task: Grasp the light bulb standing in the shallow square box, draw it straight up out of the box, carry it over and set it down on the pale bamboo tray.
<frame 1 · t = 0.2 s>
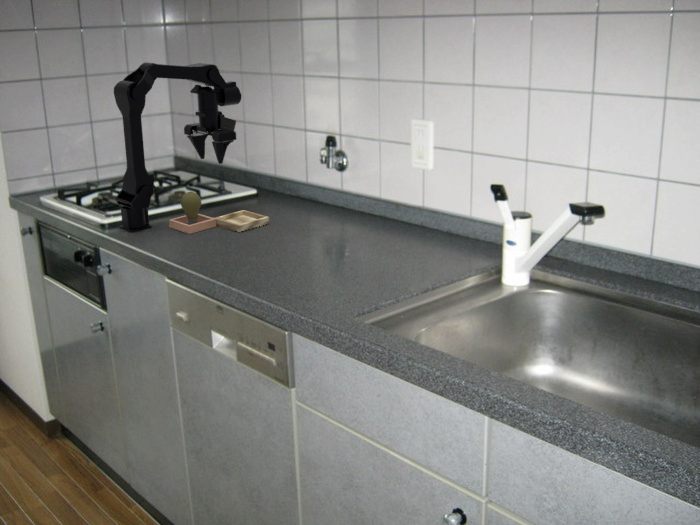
hand: (211, 161, 229), 14 cm above the worktop, fingers open, 9 cm apart
ice cream cone: (136, 195, 248), on the worktop
shallow square box: (192, 226, 215), on the worktop
tray: (241, 224, 217), on the worktop
light bulb: (193, 227, 215), resting in shallow square box
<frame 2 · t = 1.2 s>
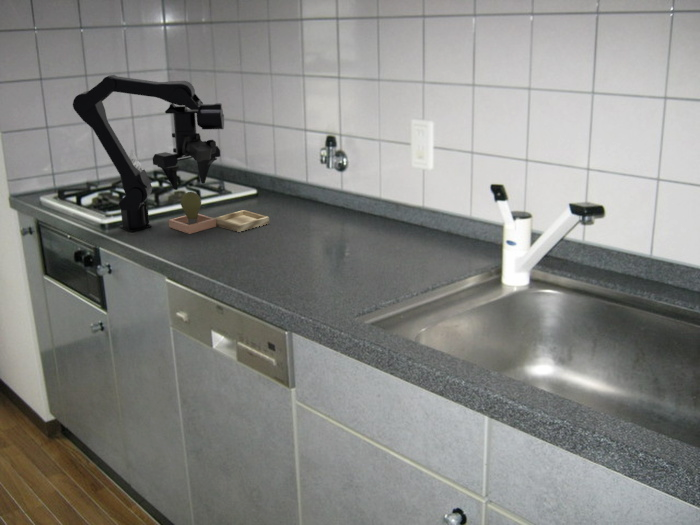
hand: (189, 186, 211), 12 cm above the worktop, fingers open, 9 cm apart
nothing on the worktop moved.
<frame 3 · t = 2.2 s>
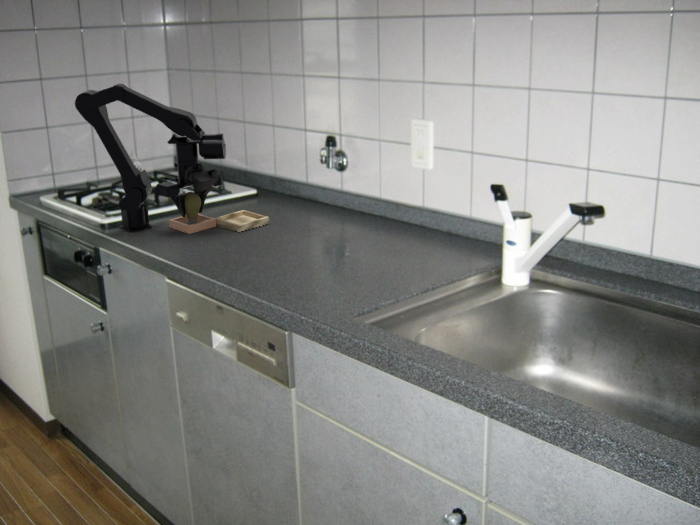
hand: (191, 214, 214), 4 cm above the worktop, fingers closed on light bulb, 5 cm apart
light bulb: (193, 227, 215), resting in shallow square box, touching gripper
everything else where it was.
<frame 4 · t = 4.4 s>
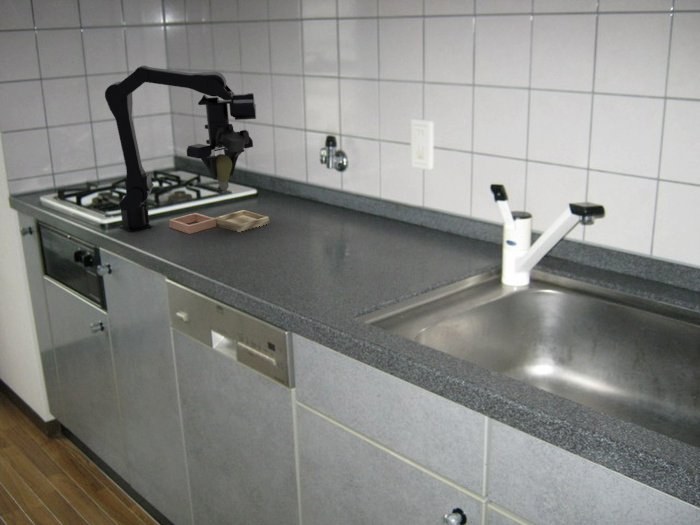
hand: (223, 177, 212), 14 cm above the worktop, fingers closed on light bulb, 5 cm apart
light bulb: (224, 190, 213), point 10 cm above the worktop, touching gripper
everything else where it was.
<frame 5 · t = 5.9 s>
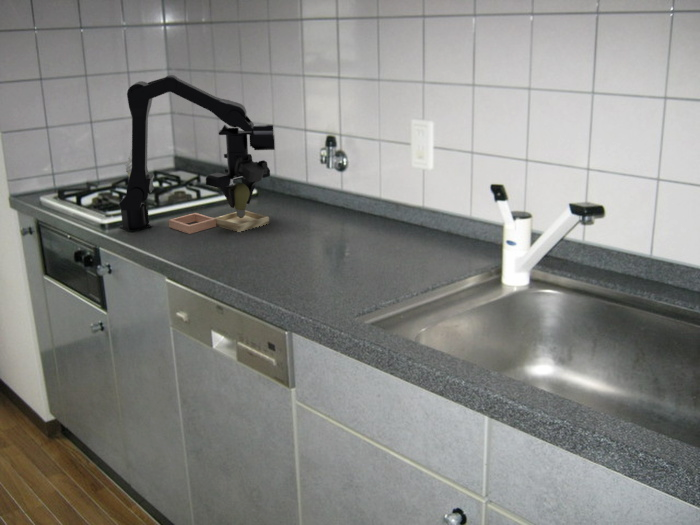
hand: (240, 205, 215), 5 cm above the worktop, fingers closed on light bulb, 5 cm apart
light bulb: (241, 218, 216), point 2 cm above the worktop, touching gripper
everything else where it was.
when the fingers open (5 cm above the worktop, at t = 6.2 s): light bulb drops 1 cm, resting on tray.
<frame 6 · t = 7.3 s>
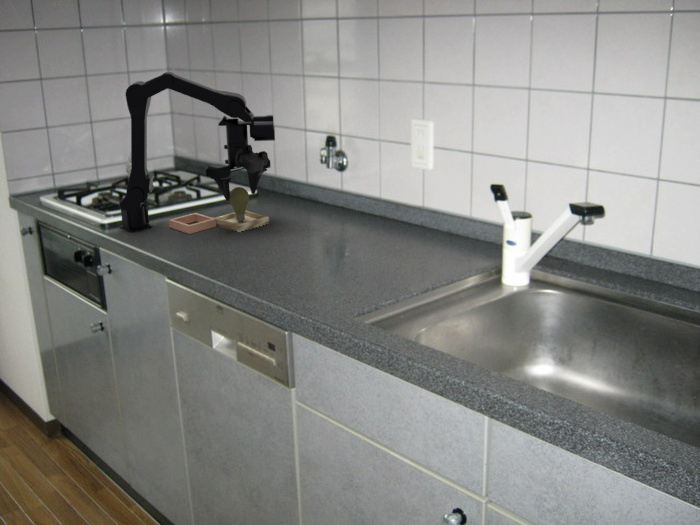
hand: (240, 197, 214), 8 cm above the worktop, fingers open, 9 cm apart
light bulb: (240, 222, 217), point 1 cm above the worktop, touching tray
everything else where it was.
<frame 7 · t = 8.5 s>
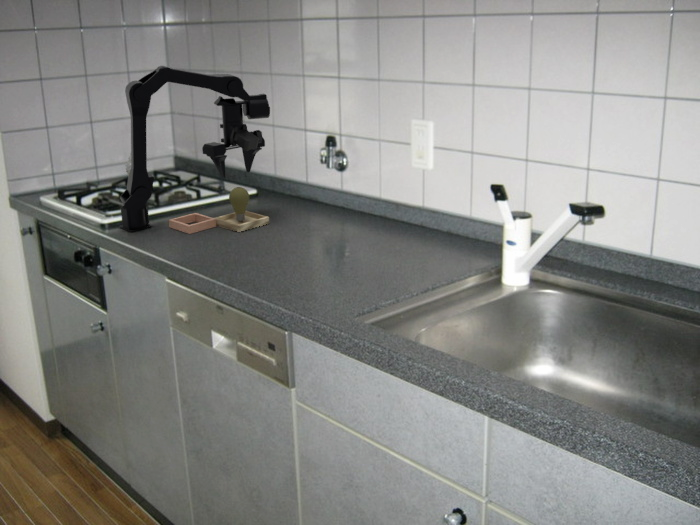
hand: (236, 174, 222), 12 cm above the worktop, fingers open, 9 cm apart
nothing on the worktop moved.
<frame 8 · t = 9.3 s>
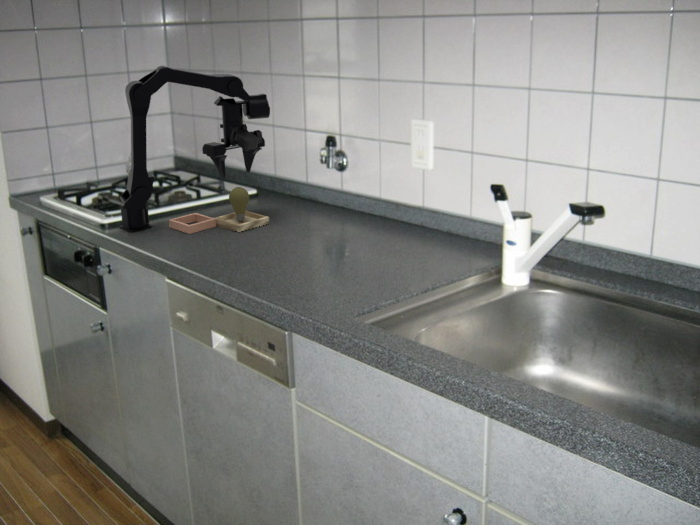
hand: (236, 174, 222), 12 cm above the worktop, fingers open, 9 cm apart
nothing on the worktop moved.
at the end: light bulb inside the target area on the tray (0.3 cm from its centre), point 0.6 cm above the tray's base; the gripper is holding nothing; light bulb touching tray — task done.
